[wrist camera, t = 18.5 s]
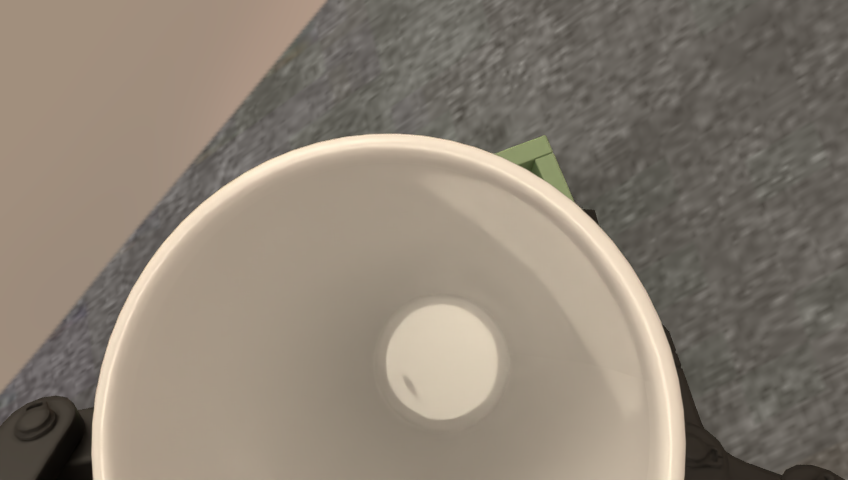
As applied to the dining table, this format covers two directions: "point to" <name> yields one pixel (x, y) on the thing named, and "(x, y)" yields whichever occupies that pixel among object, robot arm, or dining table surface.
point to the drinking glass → (388, 331)
